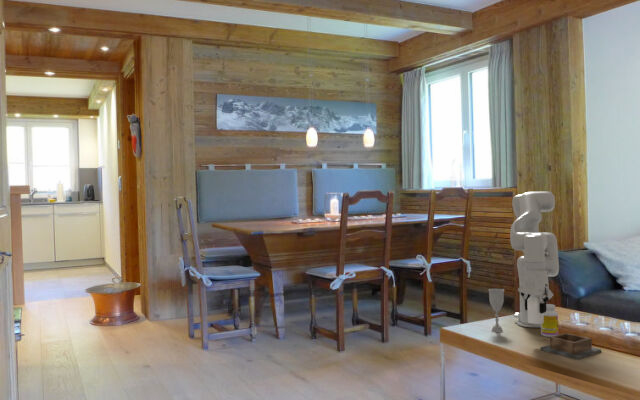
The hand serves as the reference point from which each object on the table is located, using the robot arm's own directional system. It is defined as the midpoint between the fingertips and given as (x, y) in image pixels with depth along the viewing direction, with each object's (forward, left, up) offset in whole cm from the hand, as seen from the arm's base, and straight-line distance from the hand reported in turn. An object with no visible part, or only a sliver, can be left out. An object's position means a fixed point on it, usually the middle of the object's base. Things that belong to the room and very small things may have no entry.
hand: (535, 310), depth 213 cm
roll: (0, 0, -5) cm, 5 cm away
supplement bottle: (-5, +15, -14) cm, 21 cm away
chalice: (-23, +4, -13) cm, 27 cm away
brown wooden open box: (+13, +2, -13) cm, 19 cm away
